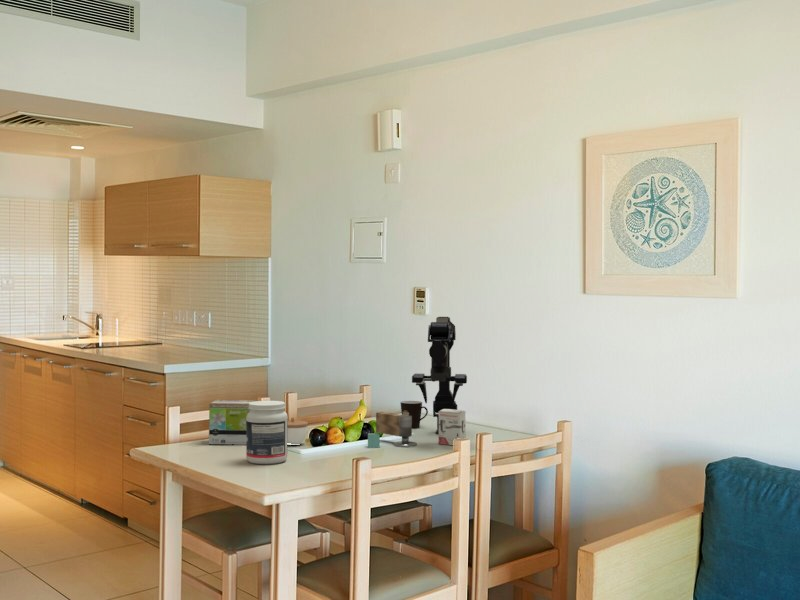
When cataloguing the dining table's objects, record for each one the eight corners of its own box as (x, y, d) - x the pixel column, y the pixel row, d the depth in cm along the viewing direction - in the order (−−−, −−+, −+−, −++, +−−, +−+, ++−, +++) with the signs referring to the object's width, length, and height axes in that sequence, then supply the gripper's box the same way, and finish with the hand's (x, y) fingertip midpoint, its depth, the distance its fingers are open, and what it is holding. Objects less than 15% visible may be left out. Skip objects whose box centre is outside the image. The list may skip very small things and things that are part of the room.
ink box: (437, 444, 302) (437, 410, 302) (443, 442, 307) (443, 408, 307) (460, 446, 298) (460, 411, 298) (466, 444, 303) (466, 410, 303)
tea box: (208, 445, 299) (208, 402, 299) (213, 440, 309) (213, 399, 309) (252, 445, 300) (252, 402, 300) (256, 440, 310) (256, 399, 310)
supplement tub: (252, 457, 278) (252, 399, 278) (291, 457, 277) (292, 400, 277) (240, 464, 265) (241, 405, 265) (282, 465, 264) (282, 405, 264)
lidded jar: (305, 441, 307) (305, 415, 307) (310, 446, 297) (310, 419, 297) (275, 442, 305) (275, 416, 304) (279, 448, 294) (279, 420, 294)
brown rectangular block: (414, 436, 300) (414, 416, 300) (405, 437, 297) (405, 417, 297) (383, 431, 312) (383, 411, 312) (374, 432, 309) (374, 412, 309)
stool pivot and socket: (371, 442, 306) (371, 429, 306) (417, 443, 304) (417, 430, 304) (366, 447, 295) (366, 434, 295) (415, 448, 293) (415, 435, 293)
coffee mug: (396, 426, 342) (396, 401, 342) (416, 425, 345) (416, 400, 345) (409, 431, 331) (409, 404, 331) (429, 429, 335) (429, 403, 335)
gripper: (410, 359, 292) (410, 405, 292) (465, 360, 290) (465, 406, 290) (413, 357, 303) (413, 402, 303) (467, 358, 301) (466, 402, 301)
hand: (439, 403), depth 299 cm, fingers open, 9 cm apart
